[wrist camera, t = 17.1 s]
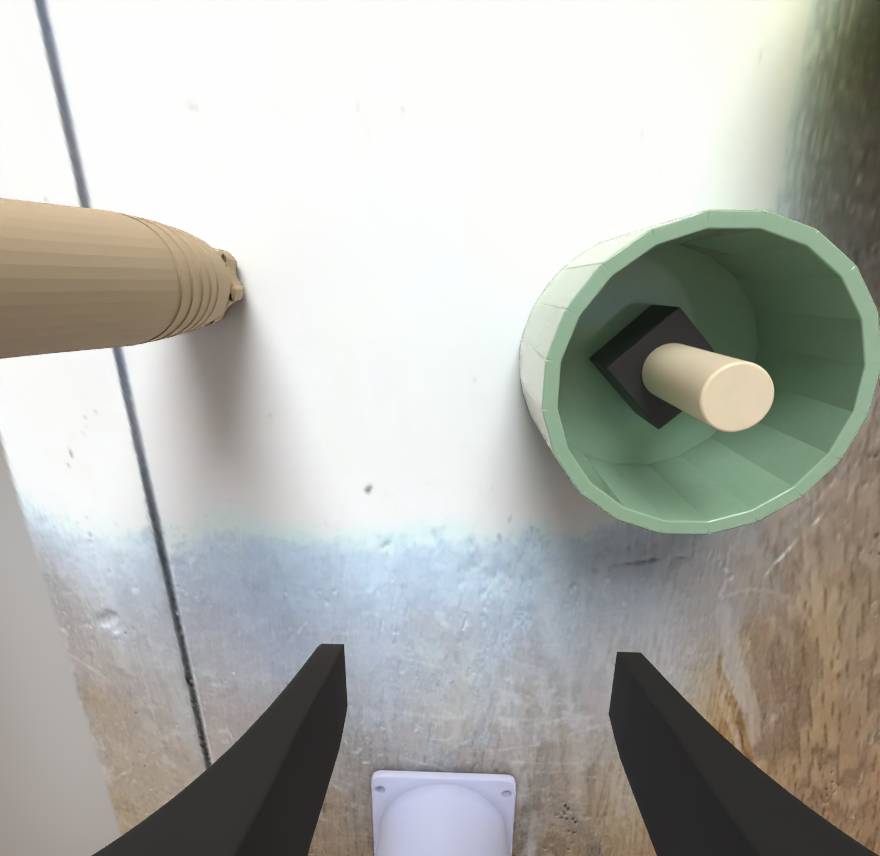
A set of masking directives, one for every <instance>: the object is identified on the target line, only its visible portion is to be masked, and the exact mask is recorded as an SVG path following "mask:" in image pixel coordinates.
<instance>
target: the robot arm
mask: <svg viewBox="0 0 880 856" xmlns="http://www.w3.org/2000/svg"><path fill="white" fill-rule="evenodd" d="M346 712H347V689H346V672H345V655H344V644H321V645H319V646H318V647H317V648H316V650H315V651H314V652H313V654H312V655H311V656H310V658H309V659H308V660H307V662H306V663H305V664H304V666H303V667H302V668H301V669H300V671H299V672H298V673H297V674H296V676H295V677H294V678H293V679H292V681H291V682H290V683H289V684H288V686H287V687H286V688H285V689H284V690H283V691H282V693H281V694H280V695H279V696H278V697H277V698H276V700H275V701H274V702H273V703H272V704H271V706H270V707H269V708H268V709H267V710H266V711H265V712H264V713H263V714H262V715H261V717H260V718H259V719H258V720H257V721H256V722H255V723H254V724H253V725H252V726H251V727H250V728H249V729H248V730H247V732H246V733H245V734H244V735H243V736H242V737H241V738H240V739H239V740H238V741H237V742H236V743H235V744H234V745H233V746H232V747H231V748H230V749H229V750H228V751H227V752H225V753H224V754H223V755H222V756H221V757H220V758H219V759H218V760H217V761H216V762H215V763H214V764H213V765H212V766H210V767H209V768H208V769H207V770H206V771H205V772H204V773H202V774H201V775H200V776H199V777H198V778H197V779H195V780H194V781H193V782H192V783H191V784H190V785H188V786H187V787H186V788H185V789H184V790H183V791H181V792H180V793H179V794H178V795H176V796H175V797H174V798H173V799H171V800H170V801H169V802H168V803H166V804H165V805H164V806H162V807H161V808H160V809H158V810H157V811H156V812H154V813H153V814H152V815H150V816H149V817H148V818H146V819H145V820H144V821H142V822H141V823H140V824H138V825H137V826H135V827H134V828H133V829H131V830H130V831H128V832H127V833H125V834H124V835H123V836H121V837H120V838H118V839H117V840H115V841H114V842H112V843H111V844H109V845H108V846H106V847H105V848H103V849H102V850H100V851H99V852H97V853H95V854H94V855H92V856H307V855H308V852H309V848H310V844H311V841H312V838H313V834H314V831H315V828H316V824H317V821H318V818H319V814H320V811H321V808H322V805H323V801H324V798H325V795H326V791H327V788H328V785H329V782H330V778H331V775H332V772H333V768H334V765H335V762H336V758H337V755H338V751H339V748H340V743H341V738H342V733H343V728H344V722H345V717H346ZM609 717H610V721H611V725H612V729H613V733H614V737H615V741H616V745H617V748H618V752H619V756H620V759H621V762H622V764H623V767H624V770H625V772H626V775H627V778H628V781H629V783H630V786H631V789H632V791H633V794H634V796H635V799H636V802H637V804H638V807H639V810H640V812H641V815H642V818H643V820H644V823H645V825H646V828H647V831H648V833H649V836H650V839H651V841H652V844H653V846H654V849H655V852H656V854H657V856H878V855H877V854H875V853H874V852H872V851H871V850H869V849H867V848H866V847H864V846H863V845H861V844H860V843H859V842H857V841H856V840H854V839H853V838H851V837H850V836H848V835H847V834H845V833H844V832H842V831H841V830H839V829H838V828H837V827H835V826H834V825H832V824H831V823H830V822H828V821H827V820H825V819H824V818H823V817H821V816H820V815H819V814H817V813H816V812H814V811H813V810H812V809H810V808H809V807H807V806H806V805H805V804H803V803H802V802H801V801H800V800H798V799H797V798H796V797H794V796H793V795H792V794H790V793H789V792H788V791H786V790H785V789H784V788H783V787H782V786H780V785H779V784H778V783H777V782H775V781H774V780H773V779H772V778H770V777H769V776H768V775H767V774H765V773H764V772H763V771H762V770H761V769H759V768H758V767H757V766H756V765H755V764H753V763H752V762H751V761H750V760H749V759H748V758H746V757H745V756H744V755H743V754H742V753H741V752H740V751H739V750H737V749H736V748H735V747H734V746H733V745H732V744H731V743H730V742H729V741H728V740H726V739H725V738H724V737H723V736H722V735H721V734H720V733H719V732H718V731H717V730H716V729H715V728H714V727H713V726H711V725H710V724H709V723H708V722H707V721H706V720H705V719H704V718H703V717H702V716H701V715H700V714H699V713H698V712H697V711H696V710H695V709H694V708H693V707H692V706H691V705H690V704H689V703H688V702H687V701H686V700H685V699H684V698H683V697H682V696H681V695H680V694H679V692H678V691H677V690H676V689H675V688H674V687H673V686H672V685H671V684H670V683H669V682H668V681H667V680H666V679H665V678H664V677H663V676H662V675H661V674H660V672H659V671H658V670H657V669H656V668H655V667H654V666H653V665H652V664H651V663H650V662H649V661H648V660H647V659H646V658H645V657H644V656H643V655H642V654H641V653H636V652H617V656H616V664H615V671H614V679H613V687H612V694H611V702H610V710H609ZM371 787H372V811H373V834H374V856H512V843H513V828H514V814H515V799H516V781H515V778H514V777H513V776H511V775H507V774H480V773H451V772H423V771H394V770H378V771H376V772H374V773H373V775H372V781H371Z"/></svg>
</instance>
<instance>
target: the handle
mask: <svg viewBox="0 0 880 856" xmlns="http://www.w3.org/2000/svg"><path fill="white" fill-rule="evenodd" d="M236 266H237V261H236V260H235V258H234V257H233V256H232V255H231V254H230V253H228V252H227V251H224V250H221V249H214V248H212V247H211V246H209V245H208V244H207V243H206V242H204V241H202V240H200V239H198V238H197V237H195V236H193V235H191V234H189V233H186V232H184V231H181V230H179V229H176V228H174V227H171V226H168V225H164V224H161V223H158V222H155V221H151V220H147V219H143V218H138V217H134V216H129V215H125V214H121V213H116V212H112V211H105V210H97V209H88V208H80V207H71V206H63V205H55V204H46V203H38V202H29V201H21V200H12V199H5V198H0V359H2V358H11V357H20V356H30V355H39V354H49V353H59V352H70V351H80V350H91V349H101V348H112V347H122V346H133V345H137V344H143V343H147V342H152V341H157V340H161V339H165V338H169V337H173V336H176V335H180V334H183V333H187V332H190V331H192V330H195V329H198V328H200V327H202V326H207V325H211V324H213V323H216V322H218V321H220V320H221V319H223V318H224V315H225V312H226V310H227V309H228V308H229V306H230V305H232V304H233V303H234V302H236V301H239V300H241V299H242V298H243V294H244V288H243V287H242V286H241V284H240V282H239V280H238V277H237V273H236Z"/></svg>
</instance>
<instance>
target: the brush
mask: <svg viewBox="0 0 880 856" xmlns="http://www.w3.org/2000/svg"><path fill="white" fill-rule="evenodd" d="M589 359H590V361H591V362H592V363H593V364H594V365H595V366H596V368H597V369H598V370H599V371H600V372H601V373H602V375H603V376H604V377H605V378H606V379H607V381H608V382H609V383H610V384H611V385H612V386H613V388H614V389H615V390H616V391H617V392H618V393H619V395H620V396H621V397H622V398H623V399H624V400H625V402H626V403H627V404H628V405H629V406H630V407H631V409H632V410H633V411H634V412H635V413H636V414H637V415H639V416H640V417H642V418H643V419H644V420H646V421H647V422H649V423H650V424H651V425H653V426H654V427H656V428H657V429H661V428H662V427H663V426H664V425H666V424H667V423H668V422H669V421H671V420H672V419H673V418H675V417H676V416H677V415H678V414H680V413H681V412H682V411H684V412H686V413H687V414H689V415H691V416H693V417H695V418H696V419H698V420H700V421H702V422H704V423H705V424H707V425H709V426H711V427H713V428H714V429H716V430H719V431H723V432H738V431H743V430H746V429H748V428H750V427H752V426H754V425H755V424H757V423H758V422H759V421H761V420H762V419H763V418H764V417H765V415H766V414H767V413H768V411H769V409H770V407H771V405H772V402H773V398H774V385H773V382H772V380H771V377H770V376H769V374H768V373H767V372H766V371H765V370H764V369H763V368H762V367H761V366H759V365H757V364H755V363H751V362H748V361H744V360H740V359H736V358H732V357H729V356H725V355H721V354H717V353H716V352H715V351H714V350H713V349H712V347H711V346H710V345H709V344H708V342H707V341H706V340H705V339H704V337H703V336H702V335H701V333H700V332H699V331H698V330H697V328H696V327H695V326H694V325H693V323H692V322H691V321H690V319H689V318H688V317H687V316H686V314H685V313H684V312H683V311H682V309H681V308H680V307H674V306H664V305H654V304H652V305H651V306H650V307H648V308H647V309H646V310H645V311H644V312H643V313H641V314H640V315H639V316H638V317H637V318H636V319H634V320H633V321H632V322H631V323H630V324H629V325H627V326H626V327H625V328H624V329H623V330H622V331H620V332H619V333H618V334H617V335H616V336H614V337H613V338H612V339H611V340H610V341H609V342H607V343H606V344H605V345H604V346H603V347H602V348H600V349H599V350H598V351H597V352H596V353H595V354H593V355H592V356H591V357H590V358H589Z"/></svg>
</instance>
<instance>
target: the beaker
mask: <svg viewBox="0 0 880 856" xmlns="http://www.w3.org/2000/svg"><path fill="white" fill-rule="evenodd" d="M652 304H654V305H664V306H674V307H680V308H681V309H682V311H683V312H684V313H685V314H686V316H687V317H688V318H689V319H690V321H691V322H692V323H693V325H694V326H695V327H696V328H697V330H698V331H699V332H700V333H701V335H702V336H703V337H704V339H705V340H706V341H707V342H708V344H709V345H710V346H711V347H712V349H713V350H714V351H715V352H716V353H717V354H721V355H725V356H729V357H732V358H736V359H740V360H744V361H748V362H751V363H755V364H757V365H759V366H761V367H762V368H763V369H764V370H765V371H766V372H767V373H768V374H769V376H770V377H771V380H772V382H773V385H774V398H773V402H772V405H771V407H770V409H769V411H768V413H767V414H766V415H765V417H764V418H763V419H762V420H761V421H759V422H758V423H757V424H755V425H754V426H752V427H750V428H748V429H746V430H743V431H738V432H723V431H719V430H716V429H714V428H713V427H711V426H709V425H707V424H705V423H704V422H702V421H700V420H698V419H696V418H695V417H693V416H691V415H689V414H687V413H686V412H684V411H682V412H681V413H680V414H678V415H677V416H676V417H675V418H673V419H672V420H671V421H669V422H668V423H667V424H666V425H664V426H663V427H662V428H661V429H657V428H656V427H654V426H653V425H651V424H650V423H649V422H647V421H646V420H644V419H643V418H642V417H640V416H639V415H637V414H636V413H635V412H634V411H633V410H632V409H631V407H630V406H629V405H628V404H627V403H626V402H625V400H624V399H623V398H622V397H621V396H620V395H619V393H618V392H617V391H616V390H615V389H614V388H613V386H612V385H611V384H610V383H609V382H608V381H607V379H606V378H605V377H604V376H603V375H602V373H601V372H600V371H599V370H598V369H597V368H596V366H595V365H594V364H593V363H592V362H591V361H590V359H589V358H590V357H591V356H592V355H593V354H595V353H596V352H597V351H598V350H599V349H600V348H602V347H603V346H604V345H605V344H606V343H607V342H609V341H610V340H611V339H612V338H613V337H614V336H616V335H617V334H618V333H619V332H620V331H622V330H623V329H624V328H625V327H626V326H627V325H629V324H630V323H631V322H632V321H633V320H634V319H636V318H637V317H638V316H639V315H640V314H641V313H643V312H644V311H645V310H646V309H647V308H648V307H650V306H651V305H652ZM877 311H878V310H877V308H876V306H875V304H874V302H873V299H872V297H871V295H870V293H869V291H868V289H867V287H866V285H865V282H864V280H863V278H862V276H861V274H860V272H859V270H858V267H857V266H856V265H855V263H853V262H852V261H851V260H850V259H849V258H848V257H847V256H846V255H845V254H844V253H842V252H841V251H840V250H839V249H838V248H837V247H836V246H835V245H834V244H833V243H832V242H830V241H829V240H828V239H827V238H826V237H825V236H824V235H823V234H822V233H821V232H820V231H818V230H817V229H815V228H813V227H810V226H807V225H805V224H802V223H799V222H796V221H794V220H791V219H788V218H786V217H783V216H780V215H778V214H775V213H772V212H770V211H764V210H707V211H702V212H698V213H695V214H692V215H688V216H685V217H682V218H678V219H675V220H672V221H668V222H665V223H661V224H658V225H655V226H651V227H648V228H645V229H641V230H638V231H635V232H632V233H629V234H626V235H623V236H620V237H617V238H613V239H610V240H607V241H604V242H601V243H599V244H597V245H595V246H594V247H592V248H591V249H588V250H587V251H585V252H584V253H582V254H581V255H579V256H578V257H576V258H575V259H573V260H572V261H571V262H570V263H569V264H567V265H566V266H565V267H564V268H563V269H562V270H560V272H559V273H558V274H557V275H556V276H555V277H554V278H553V279H552V280H551V281H550V282H549V284H548V285H547V286H546V288H545V289H544V291H543V292H542V293H541V295H540V296H539V298H538V300H537V302H536V303H535V305H534V307H533V309H532V311H531V313H530V316H529V318H528V321H527V323H526V326H525V329H524V333H523V337H522V341H521V348H520V357H519V366H520V379H521V386H522V390H523V394H524V397H525V401H526V403H527V406H528V409H529V413H530V414H531V417H532V418H533V420H534V422H535V424H536V425H537V427H538V429H539V431H540V432H541V434H542V436H543V438H544V439H545V441H546V443H547V444H548V446H549V448H550V450H551V451H552V453H553V455H554V457H555V458H556V460H557V461H558V463H559V464H560V465H561V467H562V468H563V470H564V471H565V473H566V474H567V476H568V477H569V478H570V480H571V481H572V483H573V484H574V486H575V487H576V489H577V490H578V491H579V492H580V493H581V494H582V495H583V496H584V497H586V498H587V499H589V500H590V501H591V502H593V503H594V504H595V505H597V506H598V507H600V508H601V509H602V510H604V511H605V512H606V513H608V514H609V515H610V516H612V517H613V518H615V519H617V520H620V521H623V522H626V523H629V524H632V525H635V526H638V527H641V528H644V529H647V530H651V531H654V532H657V533H662V534H712V533H716V532H720V531H724V530H728V529H732V528H736V527H740V526H743V525H747V524H751V523H755V522H756V521H760V520H761V519H763V518H765V517H767V516H769V515H770V514H772V513H774V512H776V511H778V510H779V509H781V508H783V507H785V506H787V505H789V504H790V503H792V502H794V501H796V500H798V499H799V498H801V496H804V495H805V494H806V493H807V492H808V491H809V490H810V489H811V488H812V487H813V486H814V485H815V484H816V483H817V482H818V481H820V480H821V479H822V478H823V477H824V476H825V475H826V474H827V473H828V472H829V471H830V470H831V469H832V468H833V467H834V466H835V465H836V464H837V463H839V461H840V460H841V459H842V457H843V456H844V454H845V452H846V451H847V449H848V448H849V446H850V444H851V443H852V441H853V439H854V438H855V436H856V434H857V433H858V431H859V429H860V428H861V426H862V425H863V423H864V421H865V420H866V418H867V416H868V415H867V414H869V411H870V408H871V404H872V400H873V396H874V392H875V388H876V385H877V381H878V377H879V373H880V330H879V317H878V312H877Z"/></svg>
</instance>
